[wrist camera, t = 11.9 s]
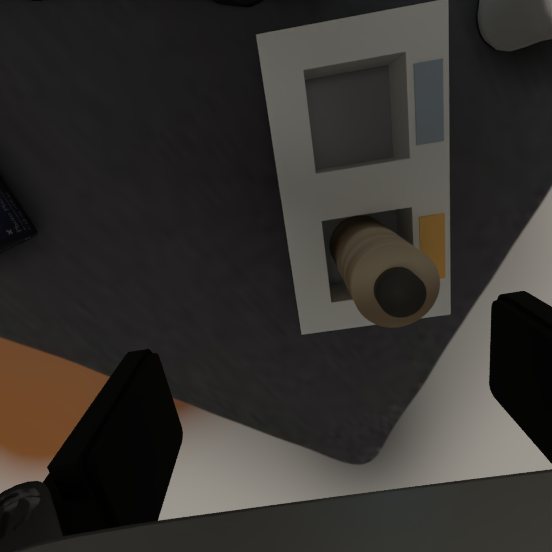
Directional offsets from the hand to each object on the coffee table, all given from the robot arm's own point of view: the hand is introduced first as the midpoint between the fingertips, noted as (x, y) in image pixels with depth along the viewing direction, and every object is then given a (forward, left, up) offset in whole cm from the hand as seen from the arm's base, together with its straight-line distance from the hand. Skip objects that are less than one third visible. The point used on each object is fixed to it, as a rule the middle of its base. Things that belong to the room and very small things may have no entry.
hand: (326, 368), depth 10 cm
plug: (+3, +5, -22) cm, 23 cm away
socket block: (-2, +5, -23) cm, 24 cm away
